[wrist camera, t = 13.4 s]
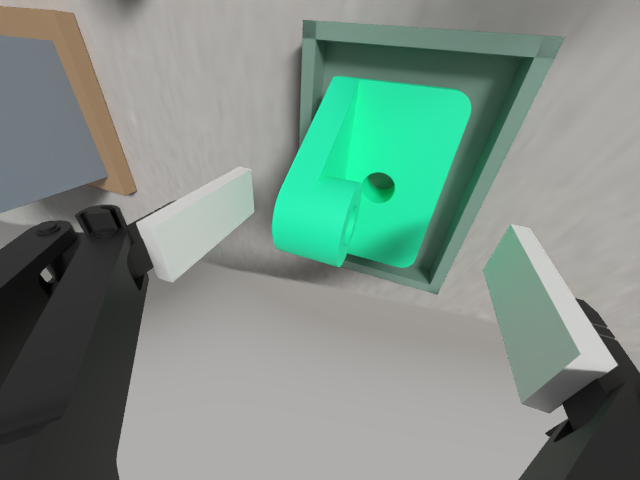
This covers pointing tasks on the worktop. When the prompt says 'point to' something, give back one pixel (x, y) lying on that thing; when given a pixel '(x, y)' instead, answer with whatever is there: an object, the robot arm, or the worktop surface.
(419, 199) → the camera mount
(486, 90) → the parts tray
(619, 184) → the worktop surface
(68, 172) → the mounted unit
